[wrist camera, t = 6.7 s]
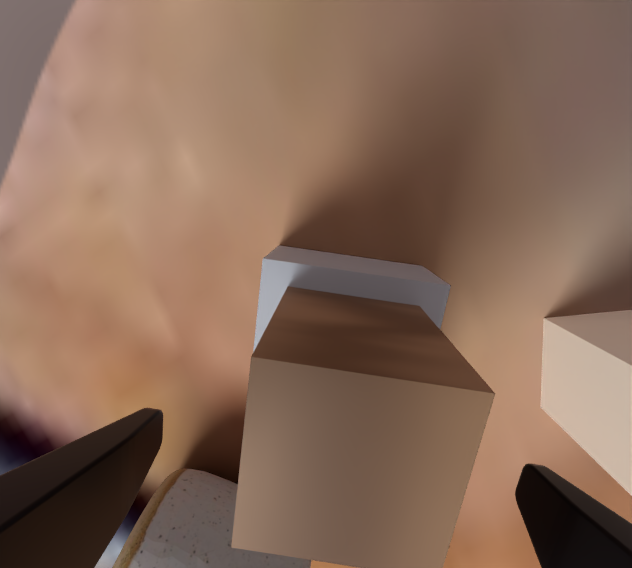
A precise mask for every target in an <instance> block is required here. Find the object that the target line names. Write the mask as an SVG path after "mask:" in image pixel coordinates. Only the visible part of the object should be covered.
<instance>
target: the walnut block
mask: <svg viewBox="0 0 632 568" xmlns="http://www.w3.org/2000/svg"><path fill="white" fill-rule="evenodd" d="M494 396H495V393H494V392H493V391H492V389H491V388H490V387H489V386H488V385H487V384H486V382H485V381H484V380H483V379H482V378H481V377H480V375H479V374H478V373H477V372H476V371H475V370H474V369H473V367H472V366H471V365H470V364H469V363H468V362H467V360H466V359H465V358H464V357H463V356H462V355H461V353H460V352H459V351H458V350H457V349H456V348H455V346H454V345H453V344H452V343H451V342H450V341H449V339H448V338H447V337H446V336H445V335H444V334H443V333H442V331H441V330H440V329H439V328H438V327H437V326H436V324H435V323H434V322H433V321H432V320H431V319H430V317H429V316H428V315H427V314H426V313H425V312H424V310H423V309H422V308H421V307H420V306H417V305H410V304H404V303H397V302H390V301H383V300H377V299H370V298H363V297H357V296H350V295H343V294H336V293H330V292H323V291H316V290H310V289H303V288H296V287H290V286H288V287H287V289H286V291H285V293H284V294H283V296H282V298H281V300H280V302H279V304H278V306H277V308H276V310H275V312H274V314H273V316H272V318H271V320H270V322H269V323H268V325H267V327H266V329H265V331H264V333H263V335H262V337H261V339H260V341H259V343H258V345H257V347H256V349H255V351H254V352H253V354H252V356H251V364H250V373H249V383H248V392H247V402H246V411H245V421H244V430H243V440H242V449H241V459H240V468H239V478H238V487H237V497H236V506H235V516H234V525H233V535H232V544H231V548H238V549H244V550H251V551H257V552H263V553H270V554H276V555H283V556H289V557H296V558H302V559H308V560H315V561H321V562H328V563H334V564H340V565H347V566H353V567H360V568H443V565H444V562H445V558H446V555H447V552H448V548H449V545H450V542H451V538H452V535H453V532H454V528H455V525H456V522H457V519H458V515H459V512H460V509H461V505H462V502H463V499H464V495H465V492H466V489H467V485H468V482H469V479H470V475H471V472H472V469H473V466H474V462H475V459H476V456H477V452H478V449H479V446H480V442H481V439H482V436H483V432H484V429H485V426H486V422H487V419H488V416H489V413H490V409H491V406H492V403H493V399H494Z"/></svg>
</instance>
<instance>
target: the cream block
mask: <svg viewBox="0 0 632 568" xmlns="http://www.w3.org/2000/svg"><path fill="white" fill-rule="evenodd" d="M541 408H542V409H543V410H544V411H545V412H546V413H547V414H548V415H549V416H550V417H551V418H552V419H553V420H554V421H555V422H556V423H557V424H558V425H559V426H560V427H561V428H562V429H563V430H564V431H566V432H567V433H568V434H569V435H570V436H571V437H572V438H573V439H574V440H575V441H576V442H577V443H578V444H579V445H580V446H581V447H582V448H583V449H584V450H585V451H586V452H587V453H588V454H589V455H590V456H591V457H592V458H593V459H594V460H595V461H596V462H597V463H598V464H599V465H600V466H602V467H603V468H604V469H605V470H606V471H607V472H608V473H609V474H610V475H611V476H612V477H613V478H614V479H615V480H616V481H617V482H618V483H619V484H620V485H621V486H622V487H623V488H624V489H625V490H626V491H627V492H628V493H629V494H630V495H631V496H632V310H623V311H613V312H602V313H592V314H582V315H571V316H561V317H551V318H544V326H543V355H542V384H541Z"/></svg>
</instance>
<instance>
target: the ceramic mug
mask: <svg viewBox="0 0 632 568" xmlns="http://www.w3.org/2000/svg"><path fill="white" fill-rule="evenodd" d="M237 487H238V484H236V483H233V482H231V481H229V480H226V479H224V478H221V477H218V476H216V475H213V474H211V473H208V472H205V471H200V470H194V469H183V468H182V469H179V470H177V471H175V472H173V473H172V474H170V475H169V476H168V477H167V478H166V479H165V480H164V481H163V483H162V484H161V485H160V486H159V488H158V489H157V490H156V492H155V493H154V495H153V496H152V498H151V500H150V501H149V503H148V504H147V506H146V508H145V509H144V511H143V513H142V514H141V516H140V518H139V519H138V521H137V523H136V525H135V526H134V528H133V530H132V532H131V533H130V535H129V537H128V539H127V541H126V543H125V544H124V546H123V548H122V550H121V552H120V554H119V556H118V558H117V560H116V562H115V564H114V566H113V567H112V568H310V566H311V560H308V559H302V558H296V557H289V556H283V555H276V554H270V553H263V552H257V551H251V550H244V549H238V548H231V544H232V535H233V525H234V516H235V506H236V497H237Z"/></svg>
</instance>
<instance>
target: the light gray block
mask: <svg viewBox="0 0 632 568" xmlns="http://www.w3.org/2000/svg"><path fill="white" fill-rule="evenodd" d="M288 286H290V287H296V288H303V289H310V290H316V291H323V292H330V293H336V294H343V295H350V296H357V297H363V298H370V299H377V300H383V301H390V302H397V303H404V304H410V305H417V306H420V307H421V308H422V309H423V310H424V312H425V313H426V314H427V315H428V316H429V317H430V319H431V320H432V321H433V322H434V323H435V324H436V326H437V327H438V328H439V329H440V328H441V324H442V320H443V316H444V312H445V307H446V303H447V299H448V295H449V291H450V287H451V285H449V284H448V283H446V282H445V281H443V280H442V279H441V278H439V277H438V276H436V275H435V274H433V273H432V272H430V271H429V270H427V269H426V268H425V267H423V266H420V265H413V264H406V263H399V262H392V261H385V260H378V259H371V258H364V257H357V256H350V255H343V254H336V253H329V252H322V251H315V250H308V249H301V248H294V247H287V246H280V245H279V246H278V247H276V248H275V249H274V250H273V251H271V252H270V253H269V254H268V255H267V256H265V257H264V258H263V262H262V272H261V282H260V292H259V302H258V312H257V321H256V331H255V341H254V351H255V349H256V347H257V345H258V343H259V341H260V339H261V337H262V335H263V333H264V331H265V329H266V327H267V325H268V323H269V322H270V320H271V318H272V316H273V314H274V312H275V310H276V308H277V306H278V304H279V302H280V300H281V298H282V296H283V294H284V293H285V291H286V289H287V287H288ZM254 351H253V352H254Z"/></svg>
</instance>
